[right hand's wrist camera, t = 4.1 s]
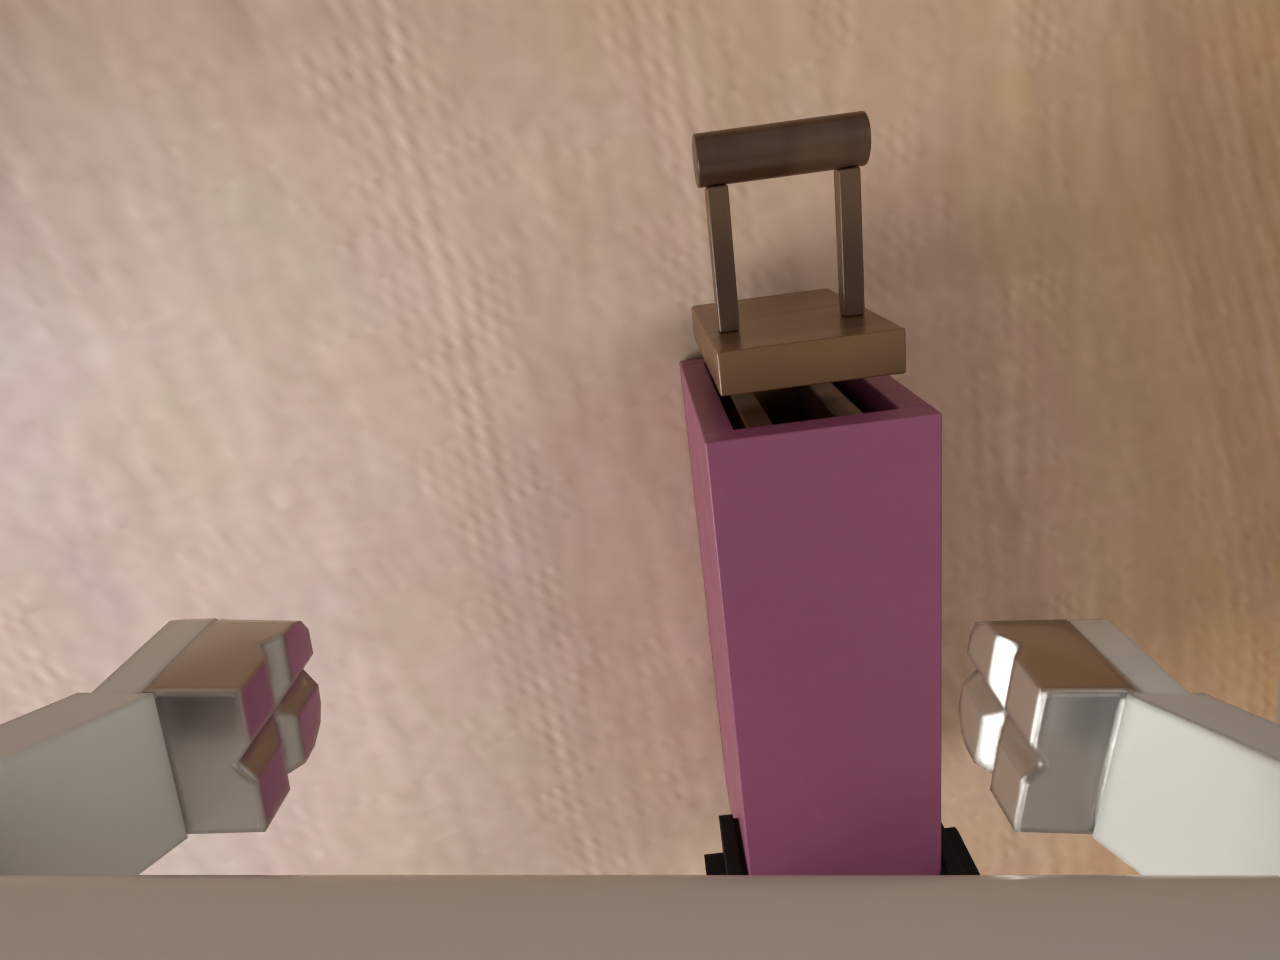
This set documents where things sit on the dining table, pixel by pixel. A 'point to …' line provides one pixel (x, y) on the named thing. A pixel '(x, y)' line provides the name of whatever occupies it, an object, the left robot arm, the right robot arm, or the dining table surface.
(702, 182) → the wooden drawer
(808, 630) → the purple rectangular block
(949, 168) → the dining table surface
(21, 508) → the dining table surface
